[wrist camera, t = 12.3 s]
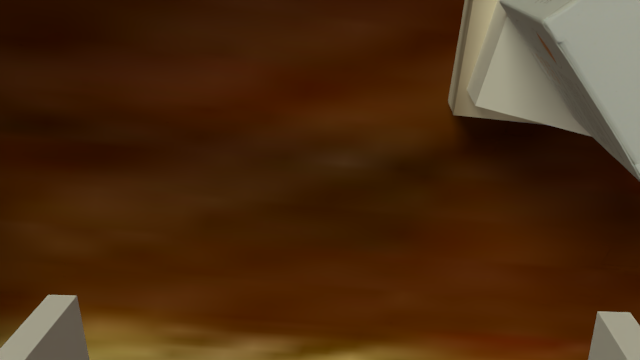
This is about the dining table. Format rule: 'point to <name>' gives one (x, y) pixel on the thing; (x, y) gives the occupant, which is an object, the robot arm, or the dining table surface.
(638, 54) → the small box
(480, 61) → the tower top slab
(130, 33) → the dining table surface
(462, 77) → the tower base slab
